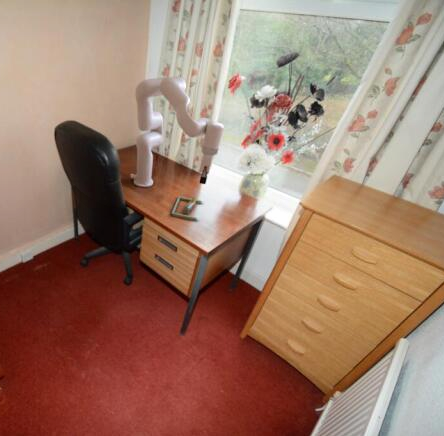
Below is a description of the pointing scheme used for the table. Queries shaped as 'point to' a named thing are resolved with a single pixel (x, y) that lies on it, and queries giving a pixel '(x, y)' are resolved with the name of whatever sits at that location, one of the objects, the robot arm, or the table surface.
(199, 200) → the frame
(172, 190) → the table surface
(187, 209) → the grey elongated block
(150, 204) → the table surface
